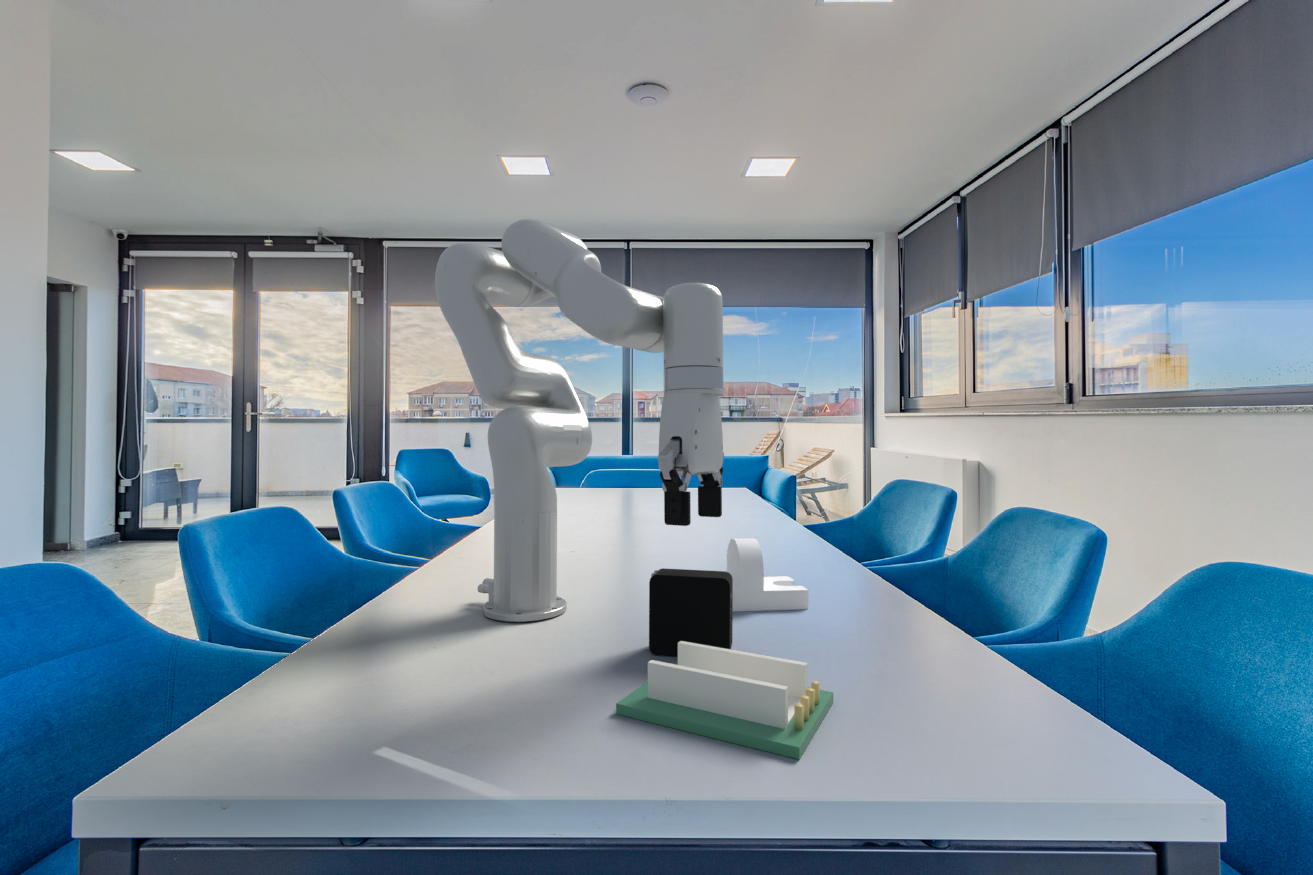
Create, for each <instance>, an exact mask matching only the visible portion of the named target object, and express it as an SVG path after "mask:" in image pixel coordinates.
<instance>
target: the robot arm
mask: <svg viewBox="0 0 1313 875" xmlns="http://www.w3.org/2000/svg"><path fill="white" fill-rule="evenodd" d="M437 261H438V262H437V263H436V268H435V275H434V276H435V277H434V279H435V280H434V288H435V295H436V299H437V302H438V306H439V308H440V311H441V312H442V313H441V314H442V315H443V317H444V320H445V321H446V322H447V324H448V327H449V328H450V329H451V331H452V333H453V334H454V336H455V339H456V340H457V342H458V345H459V347H460V349H461V353H462V356H463V358H464V360H465V363H466V366H467V368H468V370H469V373H470V376H471V377H472V381H473V383H474V385H475V388H476V390H477V392H478V395H479V397H480V398H481V400H482V402H484V403H485V404H486V405H488V406H490V407H492V408H496V409H502V410H501V411H499V412H498V413H496V415H495V416H493V418H492V420H491V421H490V422H489V425H488V430H487V445H488V452H489V456H490V457H489V458H490V461H491V468H492V476H493V507H494V508H493V512H494V513H493V514H494V515H493V516H494V517H493V518H494V519H493V523H494V524H493V578H490V577H486V578H484V579H483V581H482V582H481V583H480V584H478V585H477V592H478V593H482V594H488V601H486V602H485V603H484V604H483V606H482V614H483V615H484V617H486V618H488V619H490V620H496V621H500V622H508V623H509V622H511V623H513V622H515V623H521V622H523V623H525V622H535V621H542V620H543V621H544V620H547V619H553V618H555V617H558V616H560V615H562V614H563V613H564V612H566V611H567V601H566V599H564V598H562V597H561V596H558V595H557V594H558V593H557V588H558V585H557V584H558V583H557V582H558V580H557V579H558V578H557V577H558V575H557V574H558V573H557V572H558V571H557V570H558V561H557V560H558V495H557V494H558V493H557V489H556V487H555V484H554V481H553V478H552V476H551V474H550V472H549V469H548V468H555V467H558V468H560V467H569V466H574V465H577V464H579V463H582V462H583V461H584V460H585V459H586V458H587V457H588V455H589V453H590V452H591V449H592V444H593V431H592V428H591V427H592V426H591V424H590V421H589V419H588V418H589V417H587V414H586V412H585V409H584V406H583V405H582V403H581V401H580V398H579V397H578V396H579V395H577V392H576V390H575V388H574V385H573V384H572V380H571V379H570V377H569V375H568V373H567V371H566V370H565V369H564V367H563V366H562V365H561V364H560V363H558V361H556V360H555V359H553V358H552V357H548V356H545V355H541V354H536V353H528V352H526V351H525V350H523V349H521V348H520V347H519V346H518V344H517V342H516V341H515V338H514V336H513V334H512V330H511V329H510V327H509V325H508V323H507V321H505V319H504V318H503V317H502V315H501V314H500V313H499V312H498V311H497V310H496V309H495V308H494V307H493V306H492V304H490V302H491V303H496V304H502V305H504V306H509V307H514V308H527V307H531V306H534V305H536V304H539V303H541V302H544V301H545V300H548V299H550V298H553V299H555V300H556V301H555V302H556V303H557V304H556V305H557V306H558V308H559V310H560V312H561V313H562V315H563V316H565V317H566V319H568V320H569V321H570V322H572V323H573V324H575V325H576V326H578V328H580V329H582V330H583V331H585V332H586V333H587V334H589V335H590V336H592V337H594V338H595V339H597V340H599V341H601V342H603V343H606V344H609V345H613V346H618V347H623V348H628V349H633V350H635V351H636V350H637V351H642V352H647V353H652V354H657V353H658V354H660V353H663V397H662V398H663V399H662V404H661V408H660V409H661V410H660V411H661V412H660V417H659V418H660V420H659V433H658V434H659V435H658V436H659V438H658V455H657V461H658V470H659V471H660V473H659V477H660V479H661V481H662V486H661V488H662V491H663V498H664V499H663V502H664V504H663V505H664V506H663V507H664V508H663V509H664V510H663V512H664V514H663V515H664V518H663V519H664V524H665V525H667V526H683V527H688V526H690V525H691V520H692V519H691V517H692V516H691V491H687V490H688V487H689V484H690V482H691V478H692V475H693V476H697V477H698V481H699V483H700V485H697V515H698V516H699V517H702V518H703V517H704V518H705V517H706V518H720V517H722V515H723V497H722V496H723V493H722V492H723V490H722V489H723V488H722V486H723V484H724V483H723V477H722V475H723V473H724V466H723V464H724V459H725V453H724V445H723V444H724V443H723V442H724V441H723V424H722V423H723V421H722V420H723V419H722V411H721V400H720V397H723V396H724V316H723V313H724V312H723V311H724V310H723V308H724V305H723V304H724V303H723V296H722V292H721V291H720V290H719V288H718V287H716V286H715V285H714V284H713V285H711V284H709V283H705V282H704V283H703V282H684V283H678V284H676V285H673V286H671V287H669V288H668V289H667V290H666V291H665V292H664V295H663V296H660V295H657V294H651V293H649V292H646V291H643V290H640V289H637V288H634V287H631V286H627V285H625V284H622V283H620V282H619V281H617V280H615V279H613V278H611V277H609V276H607V275H606V274H604V273H603V272H602V265H601V262H600V260H599V258H598V256H597V255H596V254H595V253H594V252H592V251H591V250H589V249H588V247H587V246H586V244H585V243H584V241H583V240H582V239H581V238H580V237H578V236H577V235H575V234H573V233H570V232H568V231H565V230H563V229H560V228H558V227H555V226H552V225H550V224H548V223H545V222H544V221H540V220H535V219H529V218H528V219H527V218H526V219H525V218H524V219H520V220H517V221H515V222H512V223H511V224H510V225H509V226H507V228H505V230H504V232H503V235H502V237H501V250H500V249H499V250H498V249H495V248H492V247H489V246H485V245H483V244H478V243H473V242H471V243H470V242H460V243H455V244H452V245H449V246H447V248H445V249H444V251H442V253H441V254H440V256H439V259H438V260H437Z"/></svg>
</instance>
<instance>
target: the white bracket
mask: <svg viewBox="0 0 1313 875" xmlns="http://www.w3.org/2000/svg"><path fill="white" fill-rule="evenodd" d="M726 552H727V553H726V572H729V573H730V574H731V575H732V579H733V611H732V612H756V611H761V612H763V611H782V610H785V611H787V610H789V611H790V610H791V611H792V610H809V589H807V588H806V587H805V586H803V585H795V579H793V578H792V577H790V576H787V575H786V576H783V575H782V576H779V575H777V576H764V575H765V574H764V573H765V571H764V569H765V568H764V559H763V553H762V550H761V545H760V544H759V541H758V540H757V539H756V538H731V539H730V540H729V543H728V545H727V551H726Z"/></svg>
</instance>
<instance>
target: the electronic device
mask: <svg viewBox="0 0 1313 875" xmlns="http://www.w3.org/2000/svg"><path fill="white" fill-rule="evenodd" d="M650 575H651V577H650V579H649V581H648V582H649V583H648V584H649V585H648V586H649V587H648V588H649V589H648V591H649V596H648V600H649V601H648V609H649V610H648V650H649V652H650V653H651V655H654V656H657V657H668V658H669V657H670V658H678V642H680V641H685V642H690V643H696V644H702V645H708V646H713V647H719V648H725V649H731V650H732V646H733V612H734V611H733V579H732V575H731V574H730V573H729V572H727V571H723V570H722V571H721V570H705V569H704V570H702V569H682V568H681V569H679V568H660V569H655V570H654V572H652V573H651V574H650Z"/></svg>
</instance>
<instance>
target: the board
mask: <svg viewBox="0 0 1313 875" xmlns="http://www.w3.org/2000/svg"><path fill="white" fill-rule="evenodd" d="M820 686H821V685H820V682H819V681H817V680H811V682H810V687H808V662H804V661H799V660H793V659H788V658H782V657H776V656H771V655H770V656H769V655H763V654H758V653H755V652H754V653H753V652H748V651H747V652H746V651H741V650H735V649H732V648H731V649H725V648H719V647H713V646H708V645H702V644H696V643H690V642H685V641H680V642H678V657H677V661H674V662H673V663H669V662H664V661H659V660H653V659H651V660H649V661H648V662H647V681H646V682H645V683H643V684H642V685H640V686H639V687H637V688H636V689H634V690H633V691H632V692H631V693H628V694H627V695H626V696H625V697H623V698H622V699H621V700H619V701H618V702H616V703H615V714H616V715H620V716H623V717H626V718H627V717H628V718H630V719H631V718H632V719H635V720H639V721H644V722H647V723H652V724H656V725H660V726H663V727H667V728H670V729H676V730H679V731H682V732H687V733H691V734H695V735H699V736H704V737H706V738H710V739H716V740H719V741H724V742H727V743H732V744H736V745H740V746H744V747H747V748H751V749H756V750H760V751H763V752H767V753H770V754H776V755H781V756H784V757H789V758H792V759H796V760H800V759H801V758H802V756H803V754H804V753H805V751H806V750H807V748H808V746H809V745H810V743H811V741H812V739H813V737H814V736H815V734H816V733H817V731H818V728H820V725H821V723H823V720H824V719H825V718H826V715H827V714H828V713H829V710H830V709H831V707H832V705H833V704H834V692H833V691H829V690H828V691H827V690H823V689H820Z"/></svg>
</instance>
